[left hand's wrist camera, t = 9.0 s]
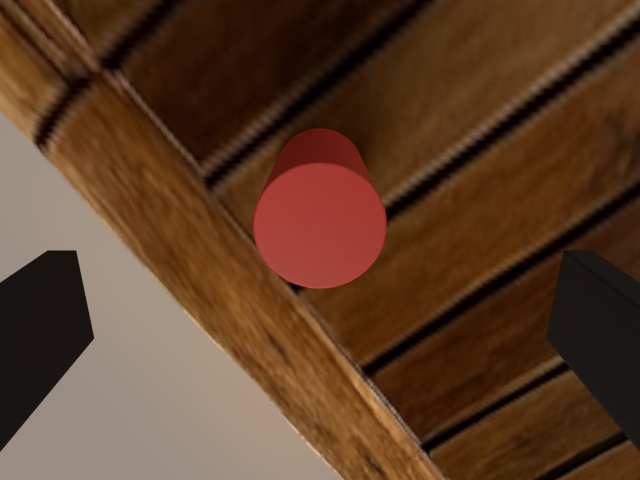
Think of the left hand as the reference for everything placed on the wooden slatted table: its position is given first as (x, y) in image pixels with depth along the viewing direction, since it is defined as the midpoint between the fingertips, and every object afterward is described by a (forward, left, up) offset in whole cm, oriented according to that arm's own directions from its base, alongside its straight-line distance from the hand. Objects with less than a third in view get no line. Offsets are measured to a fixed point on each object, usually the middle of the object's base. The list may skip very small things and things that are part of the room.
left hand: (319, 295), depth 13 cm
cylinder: (0, 0, -16) cm, 16 cm away
